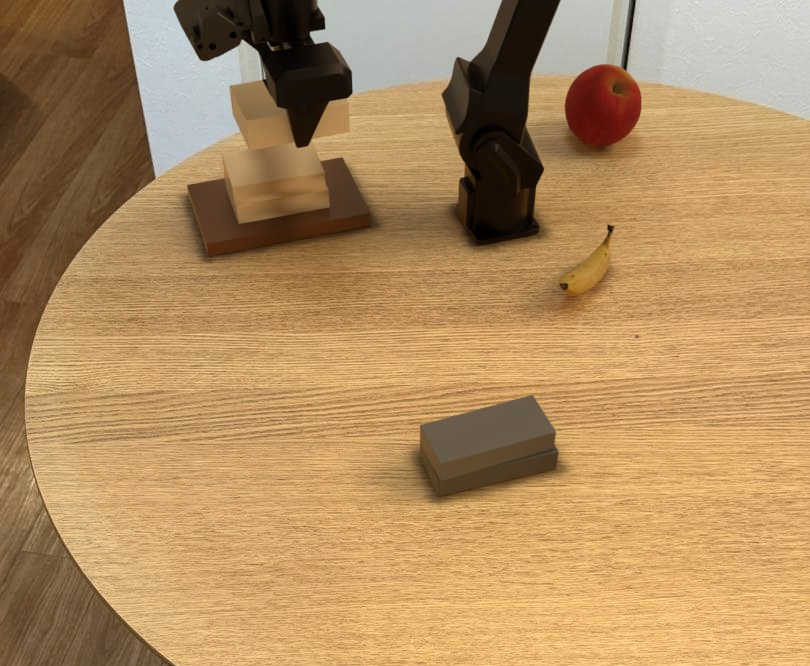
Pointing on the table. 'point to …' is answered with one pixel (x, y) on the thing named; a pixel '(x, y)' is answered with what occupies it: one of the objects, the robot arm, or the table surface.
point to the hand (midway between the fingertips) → (292, 127)
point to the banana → (588, 269)
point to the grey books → (488, 446)
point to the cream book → (278, 117)
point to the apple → (603, 105)
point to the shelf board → (279, 227)
